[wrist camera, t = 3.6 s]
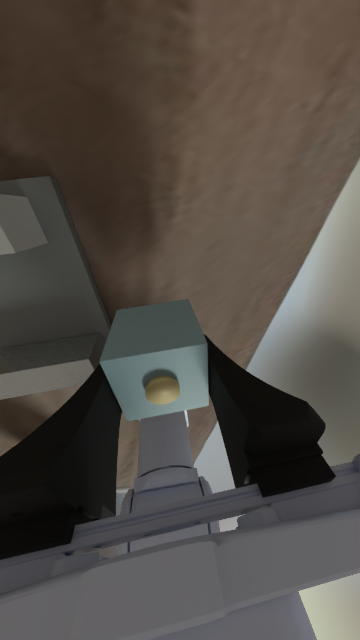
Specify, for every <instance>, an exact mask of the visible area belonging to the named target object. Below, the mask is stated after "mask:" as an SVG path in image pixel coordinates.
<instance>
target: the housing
mask: <svg viewBox="0 0 360 640" xmlns="http://www.w3.org/2000/svg"><path fill="white" fill-rule="evenodd" d="M99 362H100V364H101V367H102V369H103V371H104V373H105V375H106V377H107V379H108V381H109V384H110V386H111V388H112V390H113V392H114V394H115V396H116V398H117V400H118V403H119V405H120V407H121V409H122V411H123V413H124V415H125V417H126V419H127V421H133V420H138V419H143V418H148V417H153V416H158V415H163V414H169V413H174V412H179V411H184V410H189V409H194V408H200V407H205V406H209V399H208V347H207V341H206V339H205V337H204V334H203V332H202V330H201V327H200V325H199V323H198V320H197V318H196V316H195V313H194V311H193V309H192V307H191V304H190V302H189V300H188V299H186V300H179V301H172V302H166V303H159V304H153V305H146V306H139V307H133V308H126V309H119V310H117V311H116V314H115V317H114V320H113V323H112V326H111V329H110V332H109V335H108V338H107V341H106V343H105V346H104V349H103V352H102V355H101V358H100V361H99Z"/></svg>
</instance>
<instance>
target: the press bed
mask: <svg viewBox="0 0 360 640" xmlns="http://www.w3.org/2000/svg"><path fill="white" fill-rule="evenodd" d="M110 329H111V324H110V321H109V318H108V316H107V313H106V310H105V308H104V305H103V302H102V300H101V297H100V294H99V292H98V289H97V286H96V284H95V281H94V278H93V276H92V273H91V270H90V268H89V265H88V262H87V260H86V257H85V254H84V252H83V249H82V246H81V244H80V241H79V238H78V236H77V233H76V230H75V228H74V225H73V222H72V220H71V217H70V214H69V212H68V209H67V206H66V204H65V201H64V198H63V196H62V193H61V190H60V188H59V185H58V182H57V180H56V178H54V177H51V176H43V177H34V178H24V179H14V180H5V181H0V349H2V348H8V347H14V346H20V345H27V344H33V343H39V342H45V341H51V340H57V339H63V338H70V337H76V336H82V335H88V334H94V333H100V334H101V337H102V339H103V341H104V344H105V343H106V341H107V338H108V335H109V332H110Z"/></svg>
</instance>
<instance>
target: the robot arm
mask: <svg viewBox="0 0 360 640" xmlns="http://www.w3.org/2000/svg"><path fill="white" fill-rule="evenodd" d="M204 337H205V339H206V341H207V347H208V392H209V395H210V397H211V400H212V403H213V406H214V409H215V412H216V416H217V419H218V422H219V426H220V430H221V433H222V437H223V441H224V444H225V448H226V452H227V456H228V459H229V463H230V467H231V471H232V475H233V480H234V484H235V487H236V489H231V490H227V491H223V492H218V493H214V494H212V490H211V488H210V485H209V483H208V482H207V481H206V480H205V479H204V477H203V476H201V477H198V473H197V469H196V468H194V465H193V459H192V453H191V447H190V441H189V435H188V429H187V427H188V426H189V423H188V416H187V410H184V411H179V412H174V413H169V414H163V415H158V416H153V417H148V418H143V419H139V422H140V433H139V453H138V473H137V478H135V480H134V489H129V490H128V492H127V494H126V495H125V497H124V499H123V502H122V506H121V512H120V515H118V516H116V475H117V454H118V439H119V426H120V419H121V413H122V409H121V407H120V405H119V403H118V400H117V398H116V396H115V394H114V392H113V390H112V388H111V386H110V384H109V381H108V379H107V377H106V375H105V373H104V371H103V369H102V367H101V364H99V365H98V366H97V367H96V369H95V370H94V371H93V373H92V374H91V375H90V376H89V378H88V379H87V380H86V381H85V382H84V384H83V385H82V386H81V387H80V388H79V389H78V390H77V392H76V393H75V394H74V395H73V396H72V397H71V398H70V399H69V400H68V401H67V402H66V403H65V404H64V405H63V406H62V407H61V408H60V409H59V410H58V411H56V412H55V413H54V414H53V415H52V416H51V417H50V418H49V419H48V420H46V421H45V422H44V423H43V424H42V425H41V426H39V427H38V428H37V429H36V430H35V431H33V432H32V433H31V434H30V435H28V436H27V437H26V438H25V439H23V440H22V441H21V442H20V443H18V444H17V445H16V446H14V447H13V448H12V449H10V450H9V451H7V452H6V453H5V454H3V455H2V456H1V457H0V640H317V639H316V636H315V633H314V631H313V628H312V626H311V623H310V621H309V618H308V616H307V613H306V610H305V608H304V605H303V603H302V600H301V597H300V595H299V592H298V591H300V590H303V589H306V588H310V587H313V586H316V585H320V584H323V583H327V582H330V581H333V580H336V579H340V578H343V577H347V576H350V575H353V574H357V573H360V454H358V455H357V456H355V457H354V458H353V460H352V462H349V463H344V464H340V465H336V466H331V467H329V465H328V464H327V462H326V461H325V459H324V458H323V457H322V455H321V454H323V451H322V449H321V448H320V447H319V445H318V444H317V442H318V440H319V439H320V437H321V436H322V434H323V433H324V430H325V422H324V421H323V420H322V419H321V418H320V416H319V415H318V414H317V413H316V411H315V410H314V409H313V408H312V407H311V406H310V405H309V404H308V403H307V402H306V401H304V400H301V399H299V398H297V397H294V396H292V395H290V394H287V393H285V392H283V391H281V390H279V389H277V388H274V387H273V386H271V385H269V384H267V383H265V382H263V381H262V380H260V379H258V378H257V377H255V376H253V375H251V374H250V373H249V372H247V371H246V370H244V369H243V368H241V367H240V366H239V365H237V364H236V363H235V362H233V361H232V360H231V359H230V358H229V357H227V356H226V355H225V354H224V353H223V352H222V351H221V350H220V349H219V348H218V347H216V346H215V345H214V344H213V343H212V341H211V340H210V339H209V338H208V337H207V336H206V335H205V334H204ZM247 513H248V514H247ZM243 514H245V515H243ZM239 515H243V516H240V517H238V519H237V522H238V527H237V528H236V529H235V530H231V531H225V532H220V528H219V522H218V520H222V519H227V518H231V517H235V516H239ZM114 545H117V556H116V557H113V558H105V557H102V556H100V555H99V553H98V552H97V553H88V554H81V553H85V552H89V551H94V550H98V549H102V548H106V547H110V546H114ZM77 554H79V555H77Z"/></svg>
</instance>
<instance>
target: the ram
mask: <svg viewBox="0 0 360 640" xmlns="http://www.w3.org/2000/svg"><path fill="white" fill-rule="evenodd" d="M104 346H105V344H104V341H103V339H102V337H101V334H100V333H94V334H88V335H82V336H76V337H70V338H63V339H57V340H51V341H45V342H39V343H33V344H27V345H20V346H14V347H8V348H2V349H0V400H2V399H7V398H13V397H18V396H24V395H29V394H35V393H40V392H46V391H51V390H57V389H62V388H68V387H73V386H79V385H83V384H84V382H85V381H86V380H87V379H88V378H89V376H90V375H91V374H92V373H93V371H94V370H95V369H96V367H97V366H98V365H99V364H100V362H99V361H100V358H101V355H102V352H103V349H104Z"/></svg>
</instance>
